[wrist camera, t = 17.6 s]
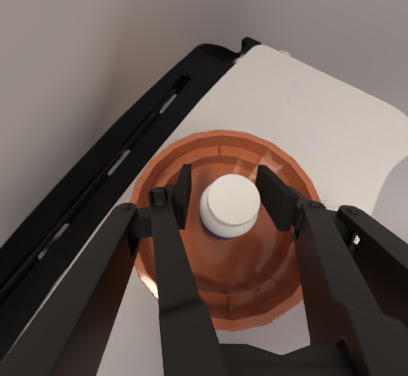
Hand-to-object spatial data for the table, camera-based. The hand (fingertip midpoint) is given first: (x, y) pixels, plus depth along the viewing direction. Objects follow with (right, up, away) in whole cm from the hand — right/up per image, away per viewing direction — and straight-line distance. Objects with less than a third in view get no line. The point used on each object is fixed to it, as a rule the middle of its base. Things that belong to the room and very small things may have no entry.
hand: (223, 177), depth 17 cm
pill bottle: (0, -5, +2) cm, 5 cm away
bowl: (0, -5, +2) cm, 5 cm away
